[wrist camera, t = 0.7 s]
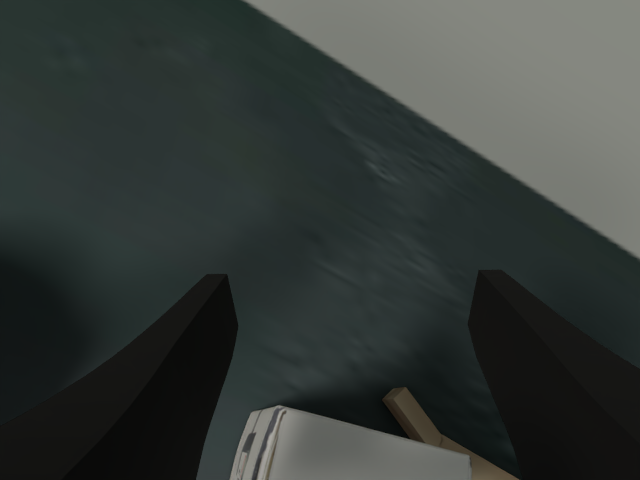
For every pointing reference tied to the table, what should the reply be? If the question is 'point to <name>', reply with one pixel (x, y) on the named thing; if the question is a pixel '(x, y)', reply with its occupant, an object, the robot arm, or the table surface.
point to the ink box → (336, 451)
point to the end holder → (435, 433)
